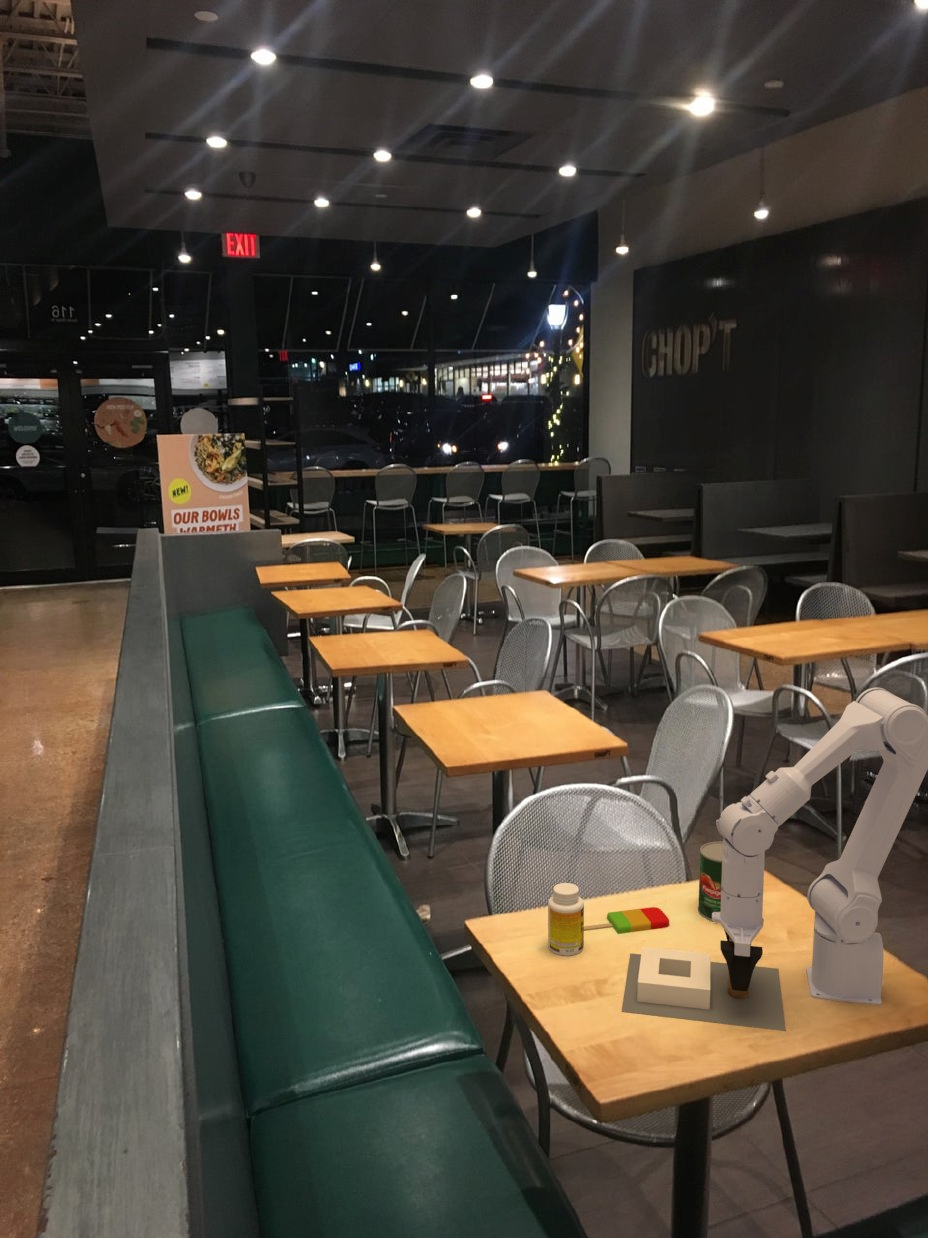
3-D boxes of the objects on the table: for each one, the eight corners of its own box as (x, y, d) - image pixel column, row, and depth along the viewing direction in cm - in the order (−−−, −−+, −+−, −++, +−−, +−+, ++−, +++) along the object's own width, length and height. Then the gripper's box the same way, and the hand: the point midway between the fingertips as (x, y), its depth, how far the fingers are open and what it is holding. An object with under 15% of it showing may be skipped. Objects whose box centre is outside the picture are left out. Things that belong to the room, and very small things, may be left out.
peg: (748, 989, 146) (751, 931, 145) (749, 1000, 143) (751, 942, 142) (727, 986, 147) (729, 929, 145) (727, 998, 144) (729, 940, 142)
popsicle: (672, 931, 165) (672, 920, 164) (584, 943, 162) (584, 932, 161) (658, 915, 170) (658, 905, 170) (573, 926, 167) (573, 916, 167)
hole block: (709, 972, 151) (710, 953, 150) (709, 1009, 141) (710, 990, 141) (641, 965, 153) (642, 946, 153) (637, 1001, 144) (637, 982, 143)
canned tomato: (701, 923, 166) (703, 860, 164) (695, 900, 174) (696, 840, 172) (750, 924, 165) (753, 861, 163) (742, 902, 173) (744, 841, 171)
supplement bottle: (587, 957, 156) (587, 895, 154) (551, 959, 156) (551, 897, 154) (580, 938, 162) (580, 879, 160) (545, 940, 161) (545, 881, 159)
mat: (778, 970, 151) (778, 968, 151) (785, 1033, 136) (785, 1031, 136) (630, 955, 157) (630, 953, 157) (621, 1013, 141) (621, 1011, 141)
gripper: (712, 864, 150) (710, 948, 153) (713, 910, 136) (710, 1001, 139) (762, 868, 148) (758, 953, 151) (767, 915, 134) (763, 1007, 137)
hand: (738, 977), depth 145 cm, fingers open, 6 cm apart
